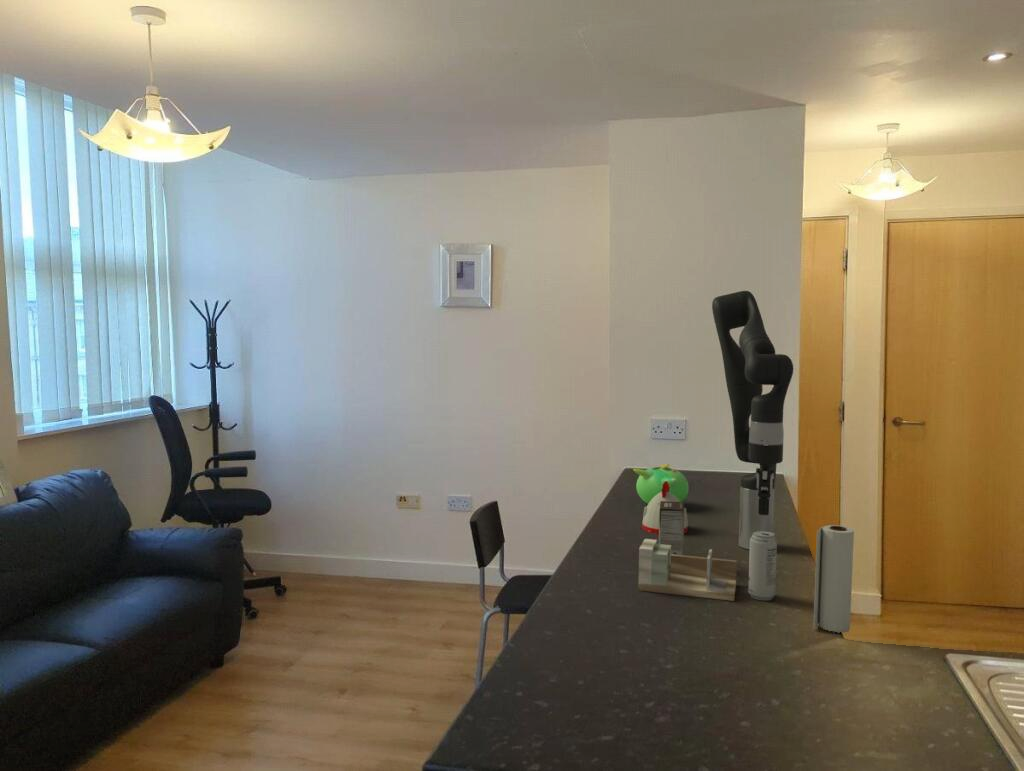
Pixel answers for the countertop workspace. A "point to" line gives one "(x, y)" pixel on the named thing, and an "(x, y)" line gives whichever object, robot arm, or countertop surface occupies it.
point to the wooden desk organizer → (685, 573)
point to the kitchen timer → (653, 510)
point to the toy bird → (661, 482)
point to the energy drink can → (762, 565)
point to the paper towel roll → (833, 578)
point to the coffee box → (672, 526)
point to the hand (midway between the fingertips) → (763, 510)
